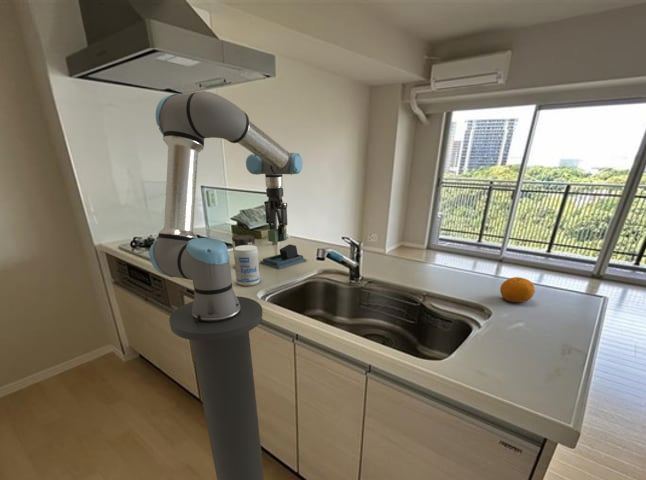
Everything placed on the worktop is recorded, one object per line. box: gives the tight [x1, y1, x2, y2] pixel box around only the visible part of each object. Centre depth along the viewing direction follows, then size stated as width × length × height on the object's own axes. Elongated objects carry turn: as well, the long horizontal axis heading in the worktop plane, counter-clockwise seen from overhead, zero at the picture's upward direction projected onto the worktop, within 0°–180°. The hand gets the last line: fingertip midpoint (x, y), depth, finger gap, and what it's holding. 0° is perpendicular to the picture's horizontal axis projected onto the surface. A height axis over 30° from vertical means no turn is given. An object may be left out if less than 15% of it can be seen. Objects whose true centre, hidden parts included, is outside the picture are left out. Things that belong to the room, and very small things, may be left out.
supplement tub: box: [233, 245, 261, 287], centre depth 137 cm, size 10×10×15 cm
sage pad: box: [267, 227, 288, 244], centre depth 158 cm, size 7×5×5 cm
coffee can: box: [231, 234, 256, 252], centre depth 158 cm, size 10×10×14 cm
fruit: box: [499, 276, 536, 303], centre depth 118 cm, size 10×10×8 cm
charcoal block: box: [279, 243, 299, 260], centre depth 168 cm, size 7×5×5 cm
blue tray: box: [259, 253, 307, 270], centre depth 167 cm, size 18×14×2 cm
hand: (277, 239), depth 159 cm, fingers closed on sage pad, 5 cm apart
